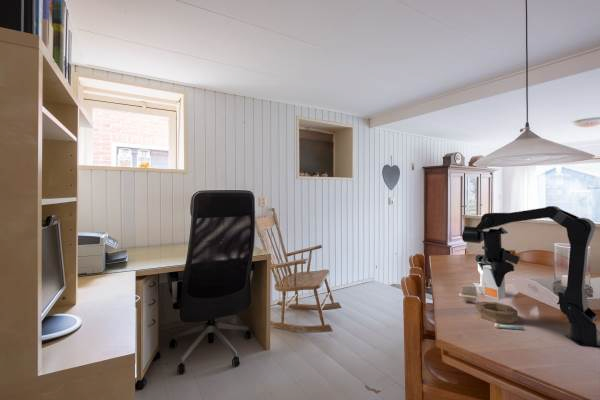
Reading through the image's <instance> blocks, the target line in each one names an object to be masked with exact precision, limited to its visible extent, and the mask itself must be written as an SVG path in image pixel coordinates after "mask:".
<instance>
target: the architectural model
mask: <svg viewBox="0 0 600 400" xmlns="http://www.w3.org/2000/svg"><path fill="white" fill-rule="evenodd" d="M458 294H459V296H460V297H462V300H464V301H463V302H470V303H476V304H477V303H479V302H478V293H477V289H476V287H475V286H474V285H463V284H462V285H461V293H458Z"/></svg>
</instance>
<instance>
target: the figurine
mask: <svg viewBox="0 0 600 400" xmlns="http://www.w3.org/2000/svg"><path fill="white" fill-rule="evenodd" d="M478 263H480V262H477V271H478V273H479V279H480V280H479V282H480V283H479V282H473V286H475V287H476V292H477V293H478V294H479V295H484V290H483V271H482V269H481V267H480V265H479V264H478Z"/></svg>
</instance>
